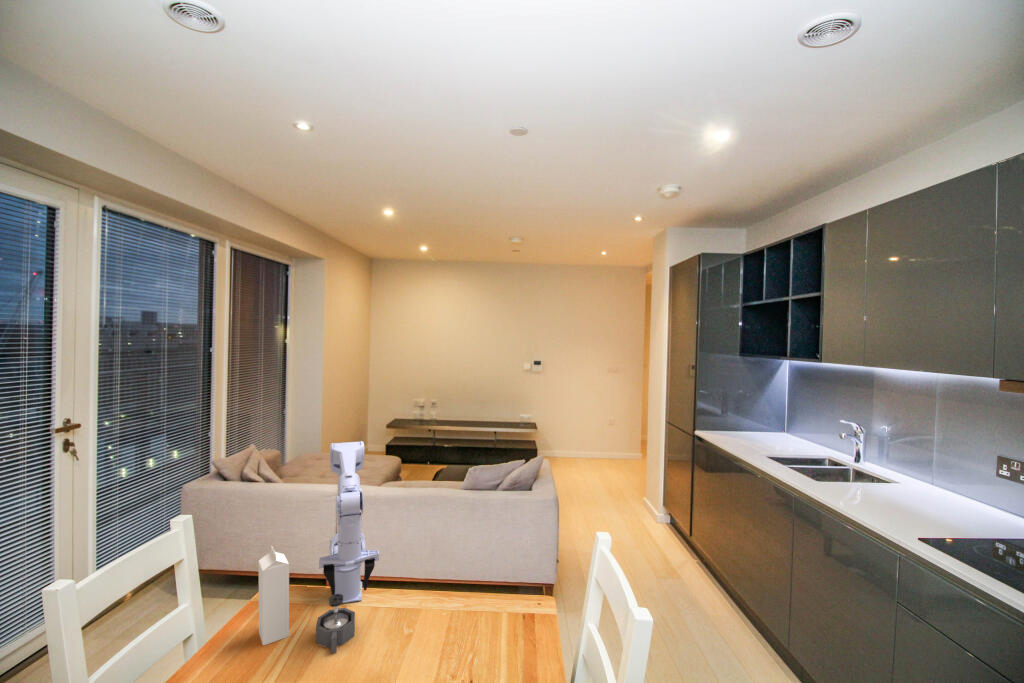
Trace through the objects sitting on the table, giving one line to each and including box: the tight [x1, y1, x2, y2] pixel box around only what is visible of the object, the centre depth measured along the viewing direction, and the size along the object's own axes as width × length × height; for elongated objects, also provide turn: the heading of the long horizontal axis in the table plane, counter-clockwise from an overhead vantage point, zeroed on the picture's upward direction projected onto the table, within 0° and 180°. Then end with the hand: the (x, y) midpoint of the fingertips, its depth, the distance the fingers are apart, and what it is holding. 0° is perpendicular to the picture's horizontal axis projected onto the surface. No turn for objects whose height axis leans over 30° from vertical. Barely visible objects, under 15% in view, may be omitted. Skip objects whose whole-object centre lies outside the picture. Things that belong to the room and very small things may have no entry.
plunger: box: [323, 594, 348, 630], centre depth 119 cm, size 6×6×6 cm
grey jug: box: [315, 607, 356, 654], centre depth 118 cm, size 12×9×4 cm
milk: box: [258, 545, 290, 647], centre depth 118 cm, size 6×6×22 cm
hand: (349, 590), depth 120 cm, fingers open, 7 cm apart
